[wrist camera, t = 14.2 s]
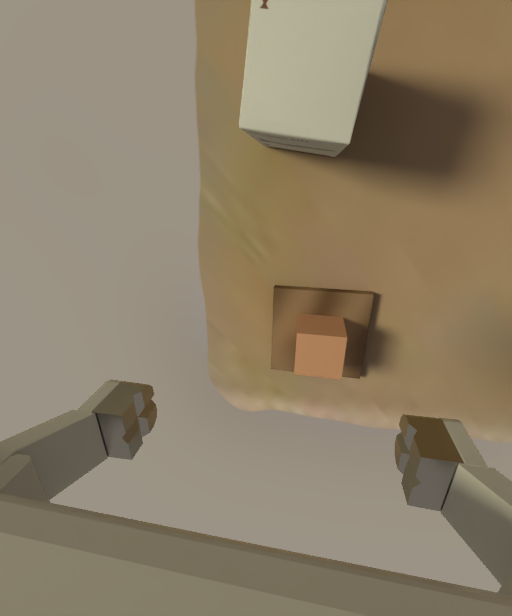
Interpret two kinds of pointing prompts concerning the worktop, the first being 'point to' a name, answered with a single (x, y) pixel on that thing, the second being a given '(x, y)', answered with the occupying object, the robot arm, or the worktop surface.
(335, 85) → the supplement box
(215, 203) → the worktop surface
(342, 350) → the terracotta cube
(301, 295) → the walnut board
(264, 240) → the worktop surface
